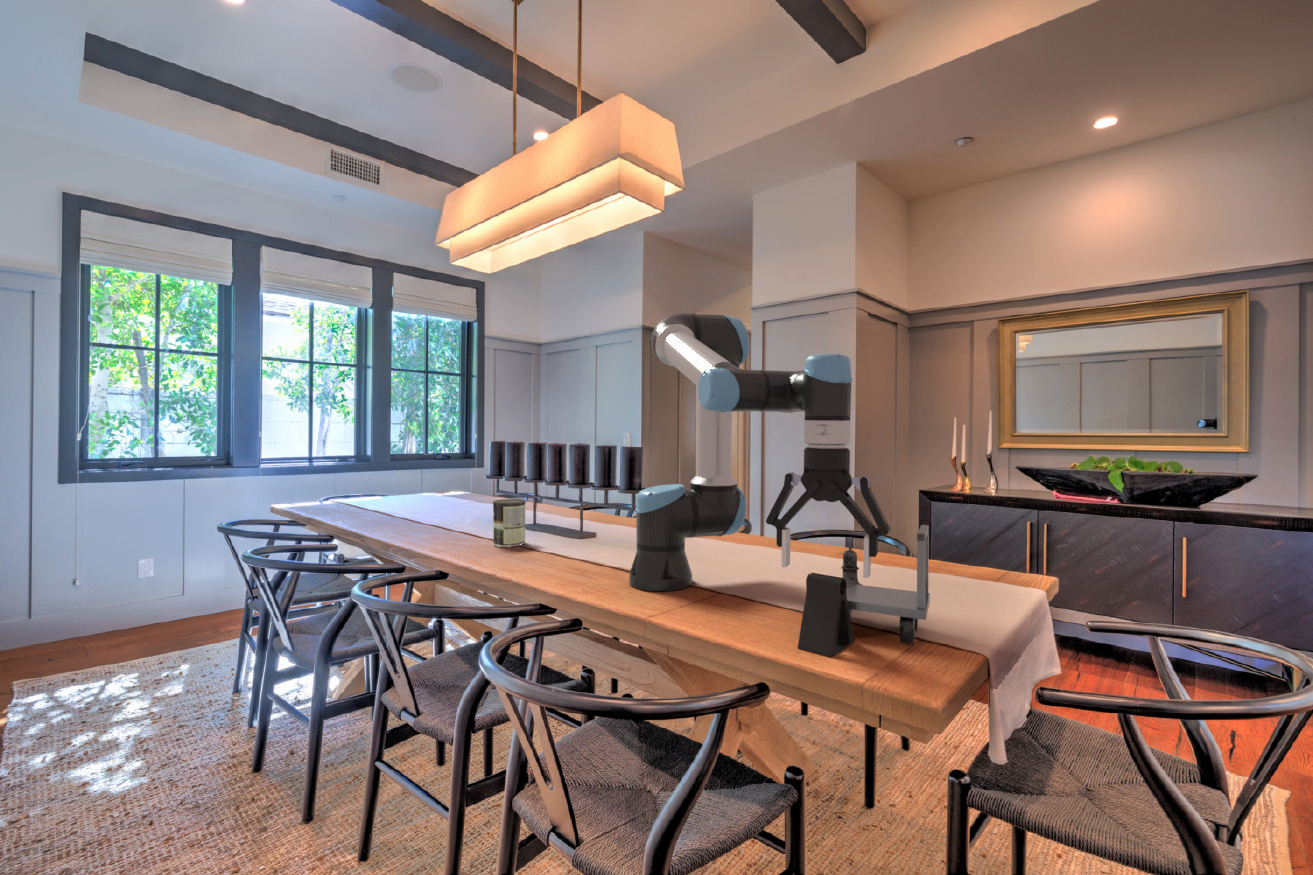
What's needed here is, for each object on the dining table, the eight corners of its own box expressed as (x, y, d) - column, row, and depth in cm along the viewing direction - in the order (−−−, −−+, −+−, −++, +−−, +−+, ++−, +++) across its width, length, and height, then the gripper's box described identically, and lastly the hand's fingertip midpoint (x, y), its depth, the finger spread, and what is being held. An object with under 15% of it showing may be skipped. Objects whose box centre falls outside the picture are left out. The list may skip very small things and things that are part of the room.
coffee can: (487, 547, 185) (487, 502, 185) (500, 540, 195) (500, 498, 195) (518, 547, 183) (518, 503, 183) (530, 541, 194) (530, 499, 193)
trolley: (816, 633, 106) (816, 527, 105) (831, 613, 117) (831, 517, 117) (925, 650, 97) (925, 535, 97) (930, 627, 109) (930, 524, 108)
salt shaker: (829, 600, 126) (829, 544, 126) (851, 596, 128) (851, 542, 128) (848, 607, 121) (848, 549, 120) (870, 604, 123) (870, 547, 123)
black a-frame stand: (831, 658, 94) (831, 584, 94) (797, 648, 98) (797, 577, 98) (854, 642, 101) (854, 573, 101) (821, 634, 105) (821, 568, 105)
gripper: (749, 445, 102) (748, 566, 102) (904, 449, 90) (901, 586, 91) (762, 443, 108) (761, 557, 109) (908, 447, 96) (906, 574, 97)
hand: (825, 570), depth 100 cm, fingers open, 13 cm apart
